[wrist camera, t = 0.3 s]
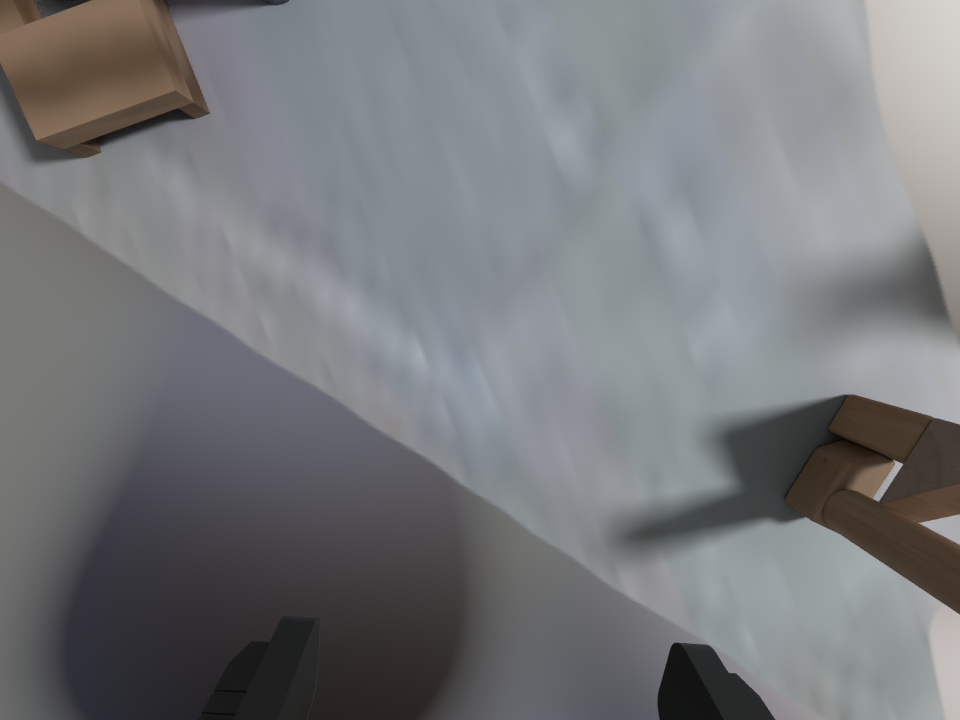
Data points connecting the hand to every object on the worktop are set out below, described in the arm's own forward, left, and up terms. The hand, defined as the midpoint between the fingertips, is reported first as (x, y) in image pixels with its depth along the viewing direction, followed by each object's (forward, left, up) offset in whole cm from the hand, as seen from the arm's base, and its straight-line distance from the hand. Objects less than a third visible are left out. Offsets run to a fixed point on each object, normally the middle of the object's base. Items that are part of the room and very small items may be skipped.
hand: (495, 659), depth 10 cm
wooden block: (+2, +31, -28) cm, 42 cm away
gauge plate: (-24, -31, -28) cm, 48 cm away
